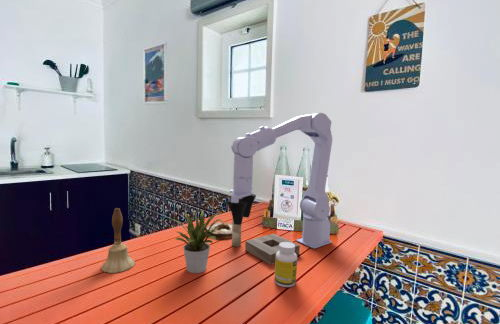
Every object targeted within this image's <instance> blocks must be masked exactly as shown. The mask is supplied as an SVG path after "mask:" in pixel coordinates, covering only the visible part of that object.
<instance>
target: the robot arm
mask: <svg viewBox="0 0 500 324" xmlns="http://www.w3.org/2000/svg"><path fill="white" fill-rule="evenodd" d="M331 127H332V120H331V119H330V118H329V117H328V115H327V114H326V113H324V112H318V113H311V114H310V113H309V114H308V113H304V114H302V115H298V116H295V117H293V118H291V119H289V120H286V121H285V122H283V123H280V124H278V125H277V126H274V127H272V128H271V127H270V126H264V125H261V126H260V127H258V128H259V129H258V130H256V131H253V132H251V133H250V132H247V133H245V136H244V137H243V136H239V137H237V138H235V139H234V141H233V142H232V145H231V151H232V153H233V154H234V155H233V183H232V184H233V186H232V187H233V189H230V190H229V193H230V194H232V195H230V199H228V200H227V206H228V208H229V209H230V212H231V213H230V214H231V215H232V219H233V221H234V224H236V225H241V226H242V223H243V218H250V216H251V215H250V214H251V213H252V212H251V210H252V206H253V203H254V202H255V200H256V197H257V194H255V193H254V194H253V174H254V173H253V172H254V170H253V169H254V167H253V165H254V155H255V154H256V152H260V151H261V150H262V149H266V148H267V147H269V146H272V145H274V144H276V143H275V142H276V140H277V138H281V137H282V136H284V135H287V134H290V133H292V132H295V131H301V132H302V134H303V133H304V134H305V136H308V137H310V139H311V140H312V141H313V143H314V147H313V154H312V161H311V162H312V163H311V168H310V169H311V170H310V174H309V183H308V188H307V189H306V190H305V191H304V192H303V196H302V198H301V200H300V202H299V209H300V211H302V216H303V217H302V233H301V234H302V236H301V238H297V239H296V242H297V243H300V244H303V245H305V246H306V247H309V248H311V249H317V248H321V247H323V246H326V245H329V244H332V240H330V238H331V237H330V236H331V222H330V219H329V218H328V217H329V215H330V213H331V212H330V211H331V207H330V198H329V195H328V194H327V192H326V185H327V181H328V180H327V179H328V171H329V166H330V165H329V164H330V160H331V159H330V158H331V151H332V145H333V135H332V131H331Z"/></svg>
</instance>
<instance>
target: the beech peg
mask: <svg viewBox="0 0 500 324" xmlns="http://www.w3.org/2000/svg"><path fill="white" fill-rule="evenodd" d="M231 219H232V220H231V221H232V223H231V224H232V238H231V246H232V247H235V248H236V247H241V245H242V224H241V225H236V224H234V221H233V218H231Z"/></svg>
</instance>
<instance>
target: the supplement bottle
mask: <svg viewBox="0 0 500 324" xmlns="http://www.w3.org/2000/svg"><path fill="white" fill-rule="evenodd" d="M293 243H294V242H293ZM293 243H290V242H281V243H280V244H279V251H278V252H277V253H276V259H275V263H274V283H275V284H276V285H278V287H279V286H280V287H281V288H282V287H283V288H291V287H293V286H295V285H296V284H297V283H296V282H297V268H298V267H297V266H298V255H296V253H295V245H294V244H293Z"/></svg>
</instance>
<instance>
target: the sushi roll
mask: <svg viewBox="0 0 500 324" xmlns="http://www.w3.org/2000/svg"><path fill="white" fill-rule="evenodd" d="M210 226H211V224H210V225H207V227H206V229H205V231H206V230H208V229H209V228H208V227H210ZM218 227H220V228H218ZM215 228H217V229H216V230H215V231H213V232H212V234H211V235H210V236H215V237H216V240H218V241H219V240H229V239H232V223H231V222H216V223H214V224H213V226H212V227H211V228H210V230H213V229H215ZM205 231H204V232H205ZM210 232H211V231H209V232H208V234H209V233H210ZM208 234H207V235H206V236H208ZM210 236H209V237H210Z"/></svg>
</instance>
